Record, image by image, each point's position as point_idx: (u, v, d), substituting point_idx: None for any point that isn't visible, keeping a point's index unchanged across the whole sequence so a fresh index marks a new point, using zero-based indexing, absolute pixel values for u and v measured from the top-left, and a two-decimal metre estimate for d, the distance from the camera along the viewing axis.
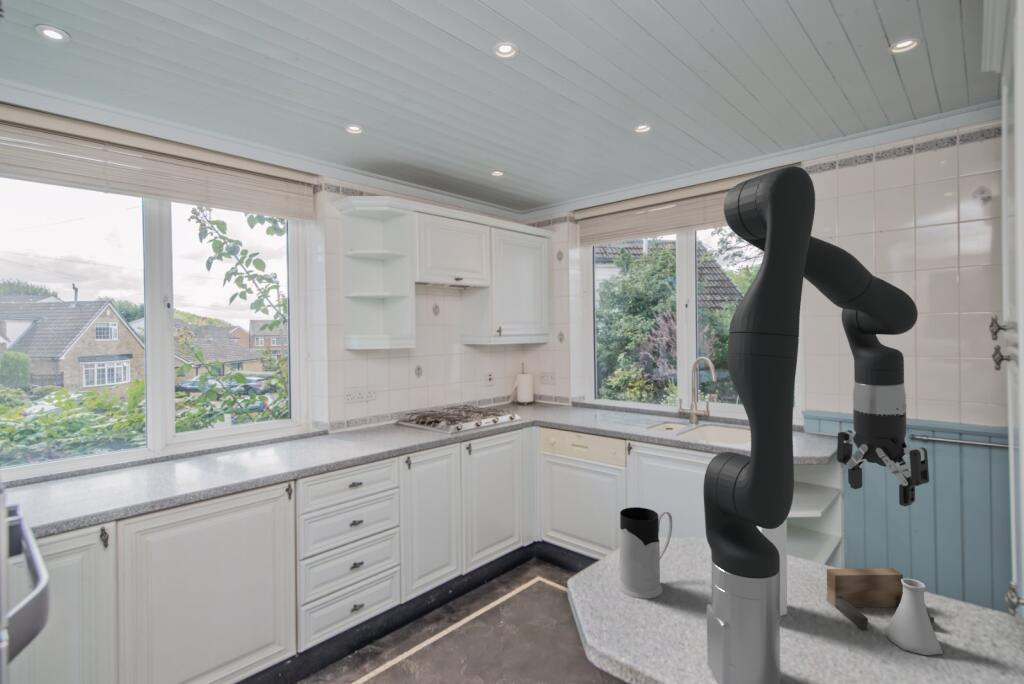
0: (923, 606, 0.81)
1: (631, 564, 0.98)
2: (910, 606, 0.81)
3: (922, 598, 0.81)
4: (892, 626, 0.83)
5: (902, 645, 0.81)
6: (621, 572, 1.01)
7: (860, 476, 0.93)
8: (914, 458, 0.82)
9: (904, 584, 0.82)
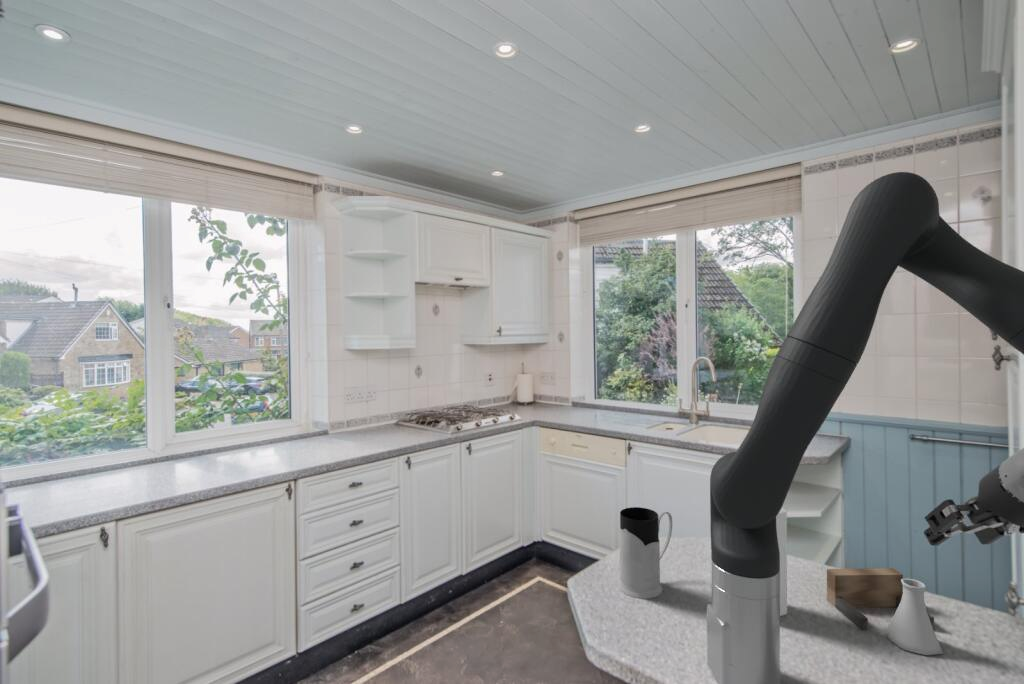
0: (923, 606, 0.81)
1: (631, 564, 0.98)
2: (910, 606, 0.81)
3: (922, 598, 0.81)
4: (892, 626, 0.83)
5: (902, 645, 0.81)
6: (621, 572, 1.01)
7: (990, 536, 0.72)
8: None
9: (904, 584, 0.82)
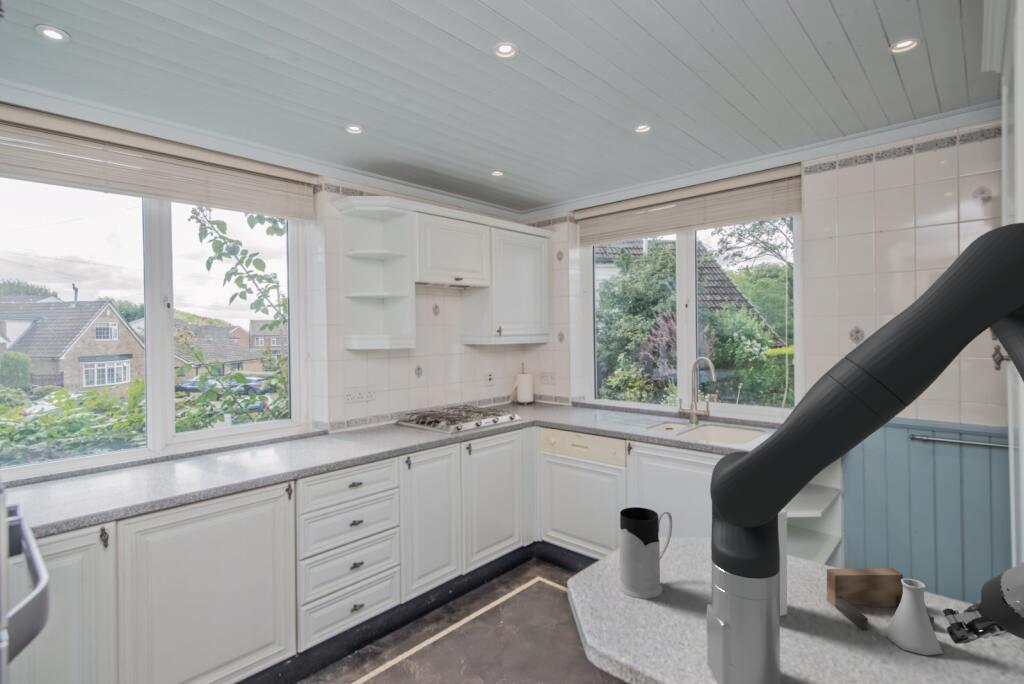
0: (923, 606, 0.81)
1: (631, 564, 0.98)
2: (910, 606, 0.81)
3: (922, 598, 0.81)
4: (892, 626, 0.83)
5: (902, 645, 0.81)
6: (621, 572, 1.01)
7: None
8: None
9: (904, 584, 0.82)
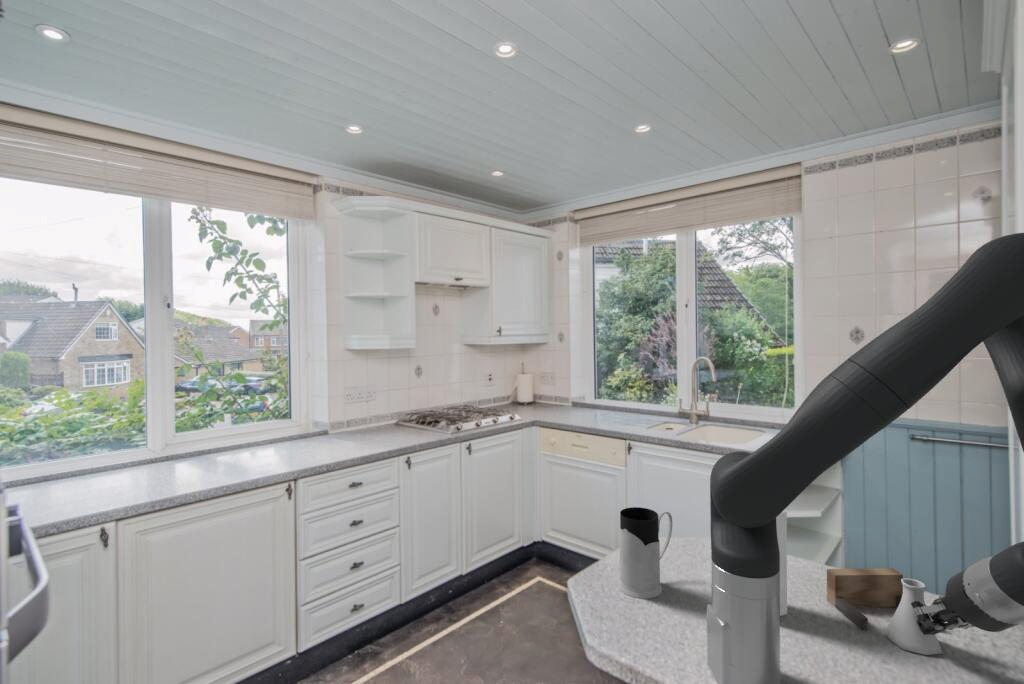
0: None
1: (631, 564, 0.98)
2: (910, 605, 0.81)
3: (922, 598, 0.81)
4: (892, 626, 0.84)
5: (901, 645, 0.81)
6: (621, 572, 1.01)
7: None
8: None
9: (904, 584, 0.82)
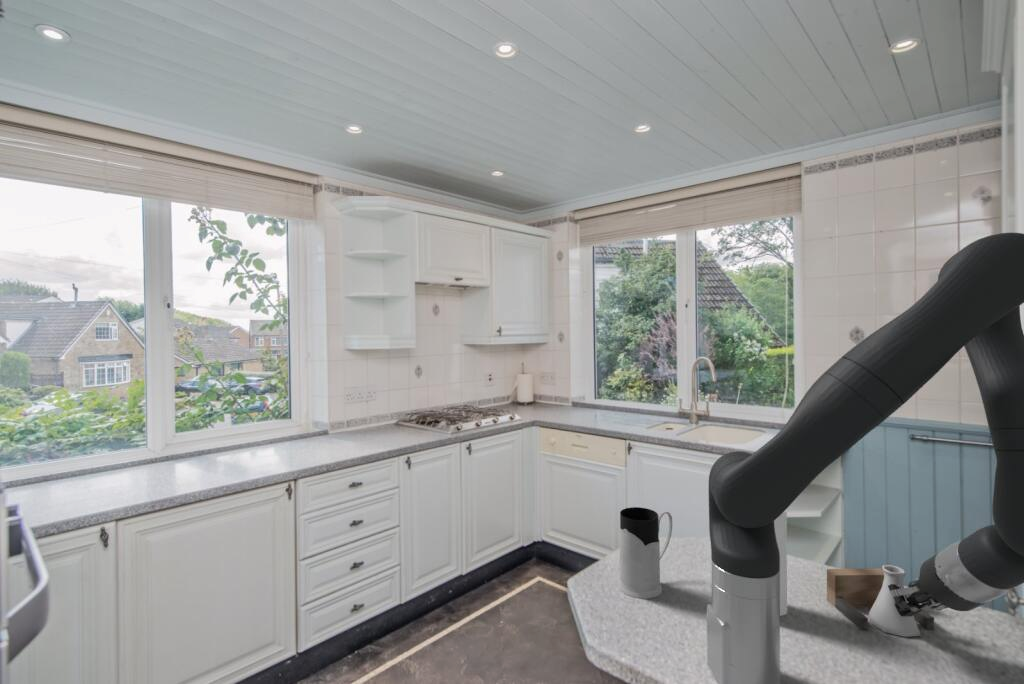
0: None
1: (631, 564, 0.98)
2: None
3: (901, 583, 0.86)
4: (874, 610, 0.88)
5: (882, 628, 0.86)
6: (621, 572, 1.01)
7: None
8: None
9: (885, 570, 0.87)
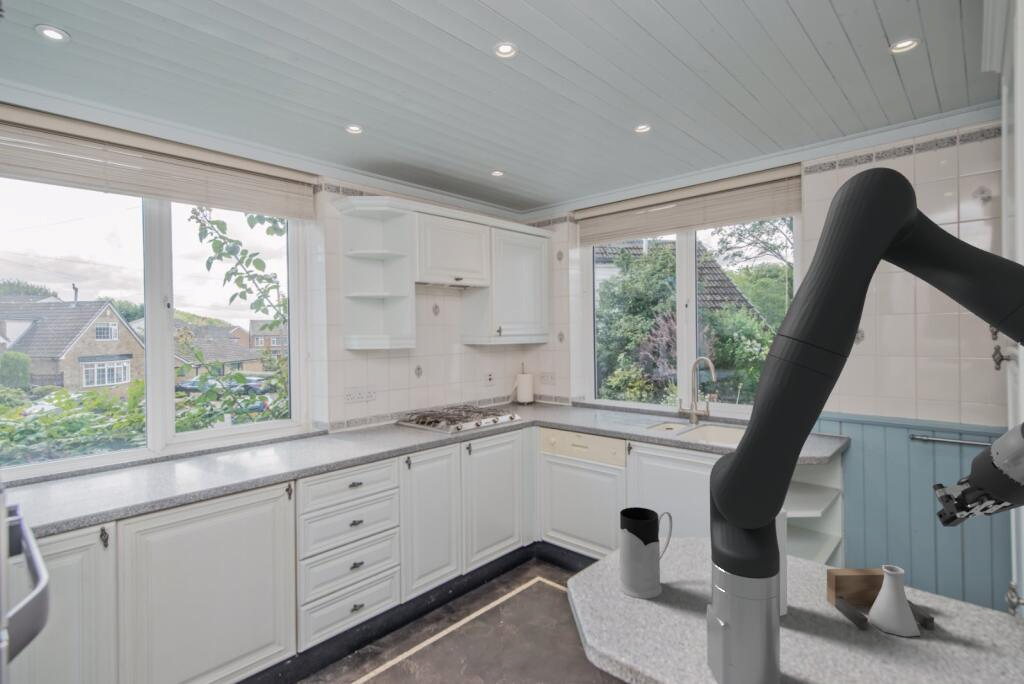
0: (902, 591, 0.86)
1: (631, 564, 0.98)
2: (890, 590, 0.86)
3: (901, 583, 0.86)
4: (873, 610, 0.88)
5: (882, 627, 0.86)
6: (621, 572, 1.01)
7: None
8: None
9: (885, 570, 0.87)
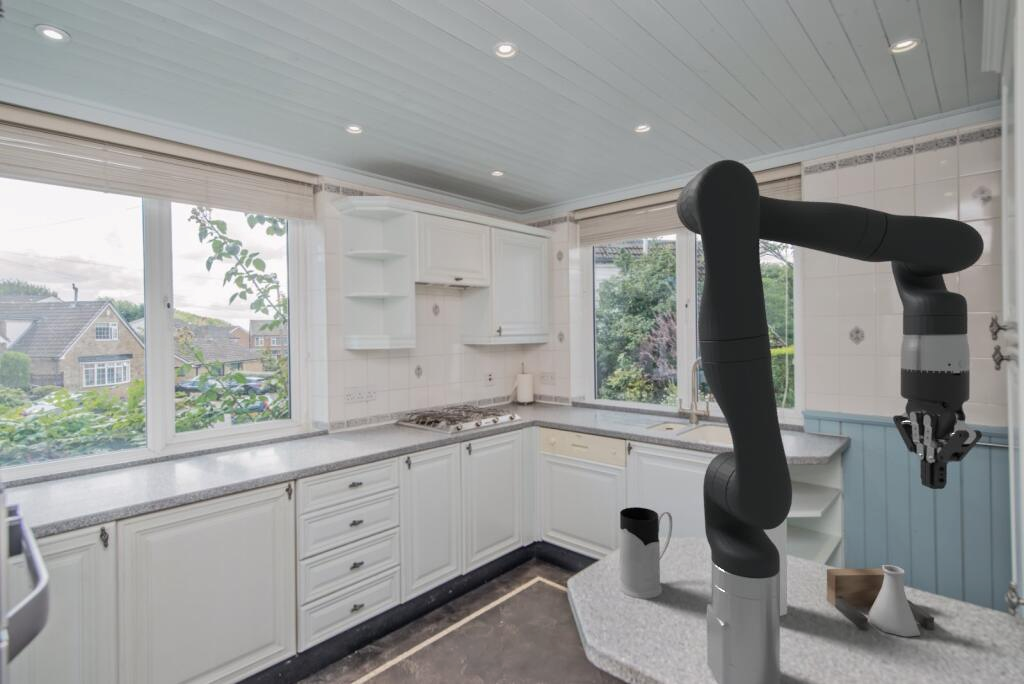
0: (902, 591, 0.86)
1: (631, 564, 0.98)
2: (890, 590, 0.86)
3: (901, 583, 0.86)
4: (873, 610, 0.88)
5: (882, 627, 0.86)
6: (621, 572, 1.01)
7: None
8: (956, 439, 0.66)
9: (885, 570, 0.87)
